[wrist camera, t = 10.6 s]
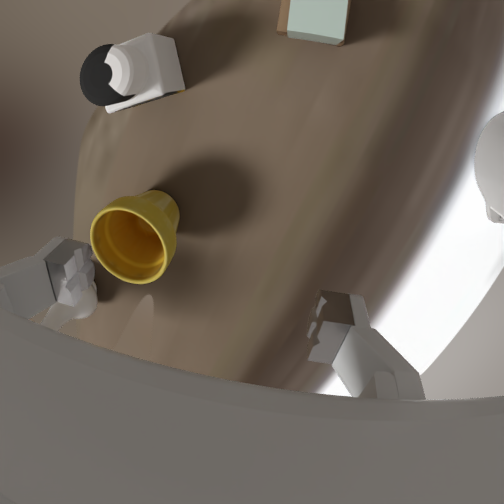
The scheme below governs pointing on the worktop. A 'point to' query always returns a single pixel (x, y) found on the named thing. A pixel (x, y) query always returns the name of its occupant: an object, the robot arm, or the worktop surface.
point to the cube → (317, 20)
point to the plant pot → (136, 236)
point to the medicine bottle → (132, 72)
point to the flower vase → (71, 309)
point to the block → (285, 15)
